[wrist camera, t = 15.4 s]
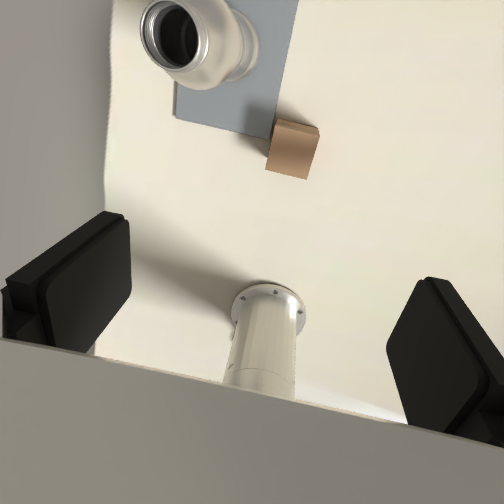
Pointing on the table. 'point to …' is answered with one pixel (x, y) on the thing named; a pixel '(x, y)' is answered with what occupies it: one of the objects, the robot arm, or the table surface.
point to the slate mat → (256, 85)
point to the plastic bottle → (200, 41)
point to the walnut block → (292, 148)
